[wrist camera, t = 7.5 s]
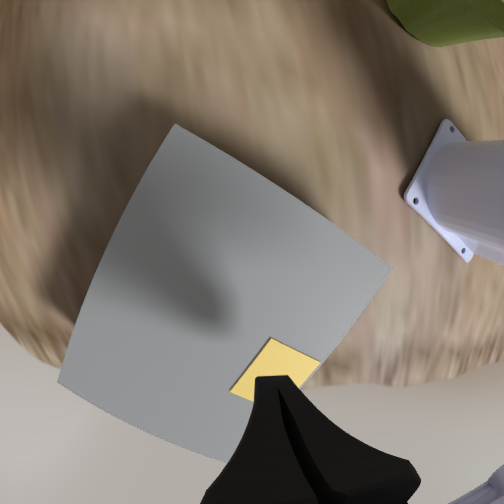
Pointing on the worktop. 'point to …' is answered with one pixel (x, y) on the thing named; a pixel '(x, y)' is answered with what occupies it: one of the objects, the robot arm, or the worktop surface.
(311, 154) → the worktop surface
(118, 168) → the worktop surface
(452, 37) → the plant pot
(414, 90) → the worktop surface
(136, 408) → the lid
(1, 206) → the worktop surface
